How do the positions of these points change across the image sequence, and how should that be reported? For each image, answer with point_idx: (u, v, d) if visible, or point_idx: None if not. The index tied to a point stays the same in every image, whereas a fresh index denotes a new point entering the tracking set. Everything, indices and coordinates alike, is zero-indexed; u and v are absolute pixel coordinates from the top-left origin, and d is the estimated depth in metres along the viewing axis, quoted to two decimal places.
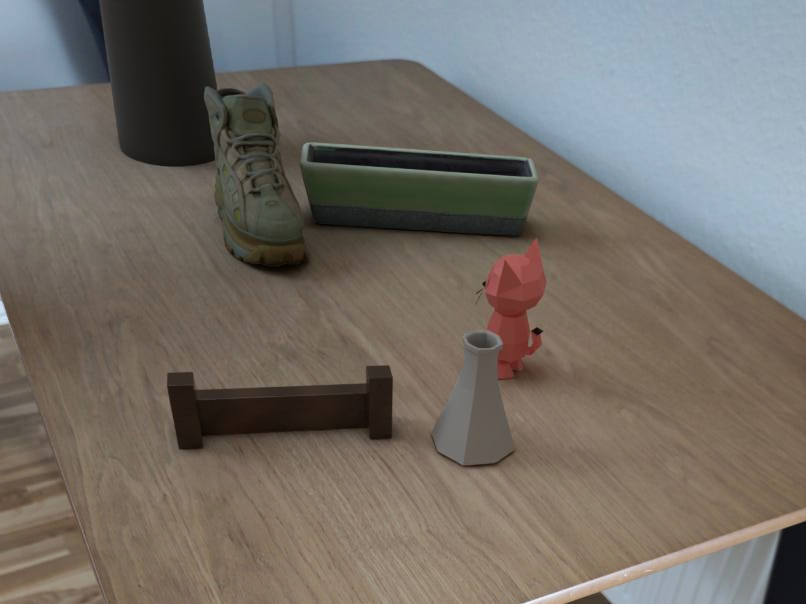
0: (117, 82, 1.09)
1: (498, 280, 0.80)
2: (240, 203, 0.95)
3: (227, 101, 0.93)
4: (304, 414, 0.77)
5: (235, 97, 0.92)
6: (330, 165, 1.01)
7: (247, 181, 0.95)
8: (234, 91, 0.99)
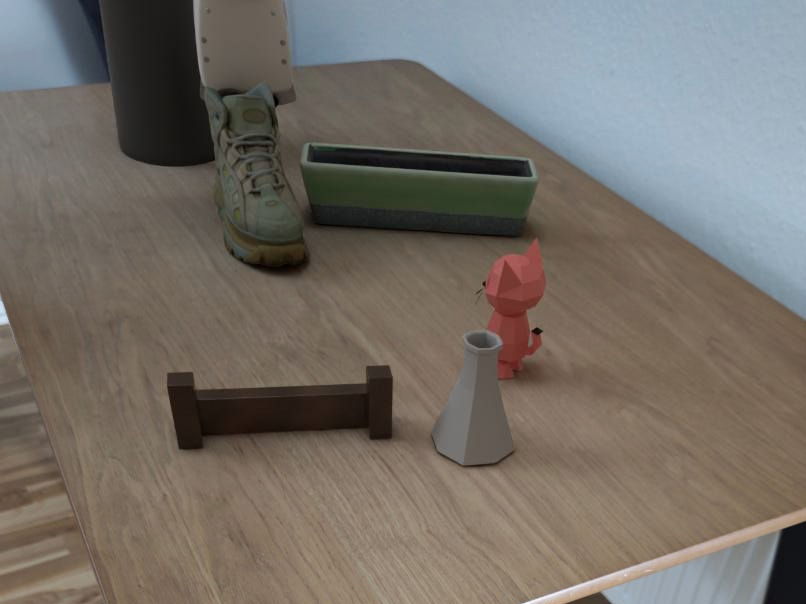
0: (117, 82, 1.09)
1: (498, 280, 0.80)
2: (240, 203, 0.95)
3: (227, 101, 0.93)
4: (304, 414, 0.77)
5: (235, 97, 0.92)
6: (330, 165, 1.01)
7: (247, 181, 0.95)
8: (234, 91, 0.99)
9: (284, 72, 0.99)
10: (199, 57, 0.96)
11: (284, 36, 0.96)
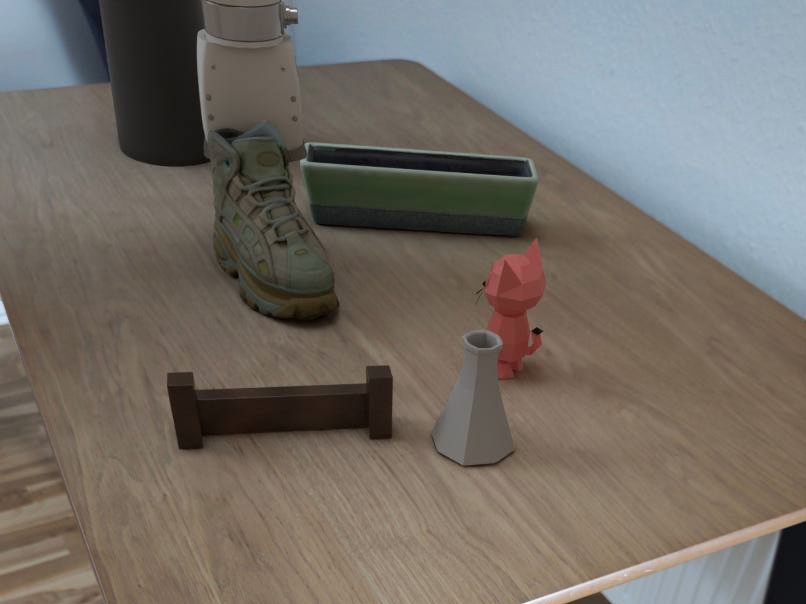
0: (117, 82, 1.09)
1: (498, 280, 0.80)
2: (266, 254, 0.87)
3: (238, 145, 0.85)
4: (304, 414, 0.77)
5: (247, 141, 0.85)
6: (330, 165, 1.01)
7: (270, 231, 0.87)
8: (230, 131, 0.90)
9: (294, 129, 0.92)
10: (203, 115, 0.89)
11: (295, 92, 0.89)
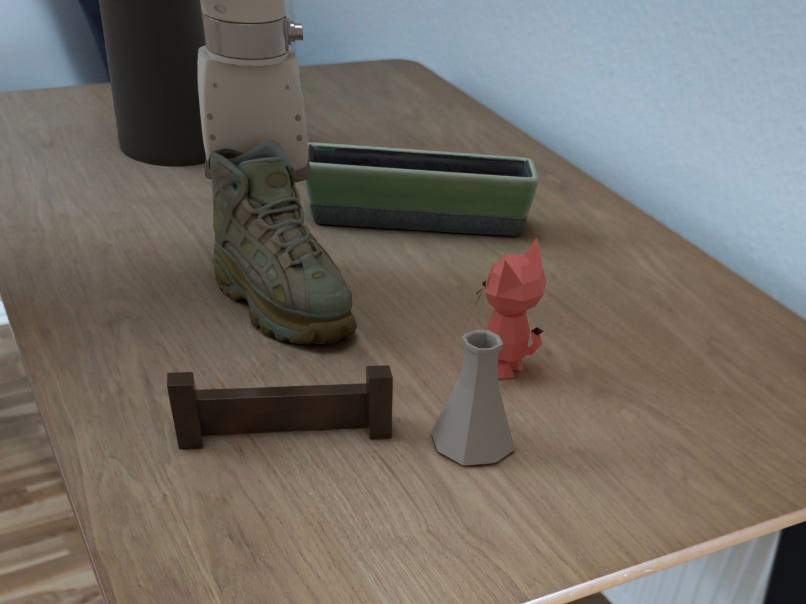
0: (117, 82, 1.09)
1: (498, 280, 0.80)
2: (282, 279, 0.84)
3: (245, 167, 0.82)
4: (304, 414, 0.77)
5: (256, 162, 0.81)
6: (330, 165, 1.01)
7: (284, 254, 0.84)
8: (229, 151, 0.87)
9: (299, 149, 0.88)
10: (204, 134, 0.86)
11: (300, 111, 0.86)
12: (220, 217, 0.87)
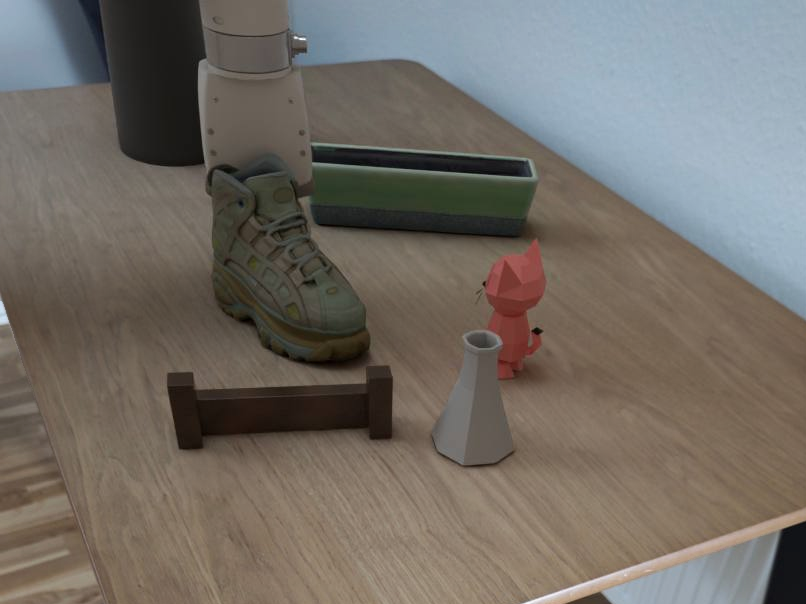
0: (117, 82, 1.09)
1: (498, 280, 0.80)
2: (295, 297, 0.82)
3: (251, 183, 0.79)
4: (304, 414, 0.77)
5: (262, 178, 0.79)
6: (330, 165, 1.01)
7: (296, 271, 0.82)
8: (226, 167, 0.84)
9: (303, 164, 0.86)
10: (205, 150, 0.83)
11: (303, 125, 0.83)
12: (222, 235, 0.84)
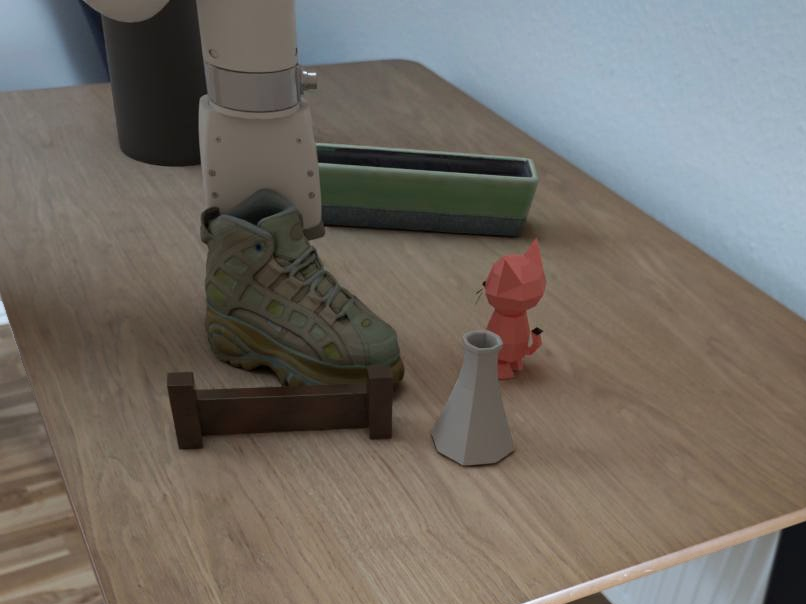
0: (117, 82, 1.09)
1: (498, 280, 0.80)
2: (332, 336, 0.78)
3: (268, 224, 0.74)
4: (304, 414, 0.77)
5: (279, 217, 0.74)
6: (330, 165, 1.01)
7: (326, 309, 0.78)
8: (214, 210, 0.77)
9: (311, 207, 0.79)
10: (206, 192, 0.77)
11: (312, 166, 0.77)
12: (228, 284, 0.78)
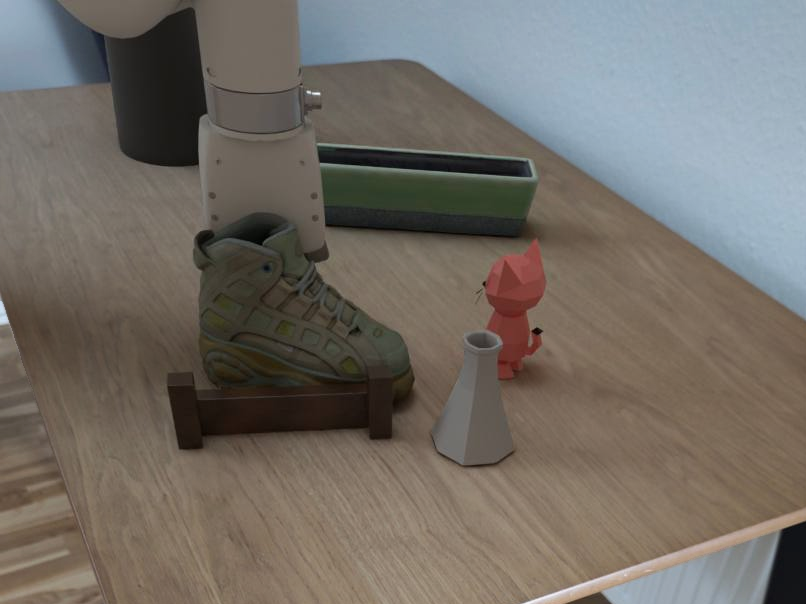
0: (117, 82, 1.09)
1: (498, 280, 0.80)
2: (348, 350, 0.76)
3: (274, 243, 0.72)
4: (304, 414, 0.77)
5: (284, 235, 0.72)
6: (330, 165, 1.01)
7: (338, 323, 0.76)
8: (204, 233, 0.74)
9: (315, 230, 0.77)
10: (205, 215, 0.74)
11: (316, 188, 0.74)
12: (231, 309, 0.75)
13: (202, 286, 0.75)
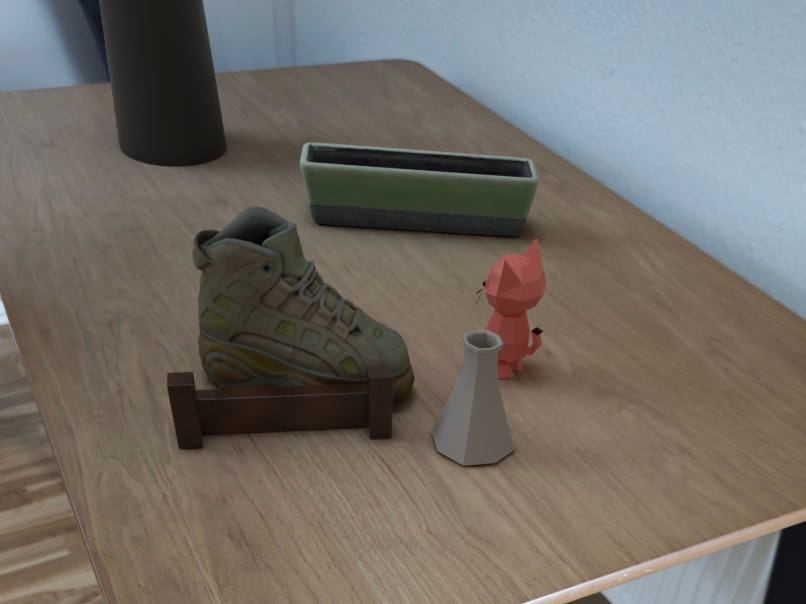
0: (117, 82, 1.09)
1: (498, 280, 0.80)
2: (348, 350, 0.76)
3: (273, 243, 0.72)
4: (304, 414, 0.77)
5: (284, 235, 0.72)
6: (330, 165, 1.01)
7: (338, 323, 0.76)
8: (203, 234, 0.74)
9: None
10: None
11: None
12: (231, 309, 0.75)
13: (202, 286, 0.75)
